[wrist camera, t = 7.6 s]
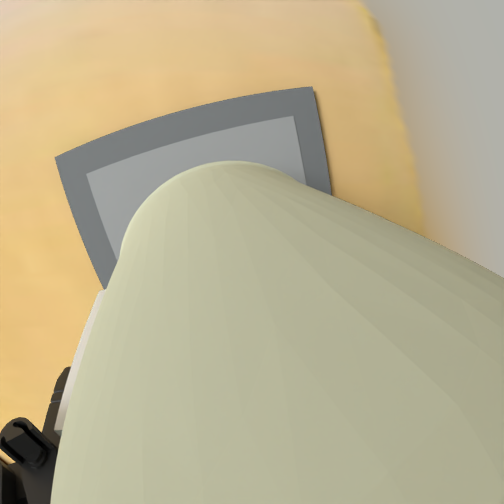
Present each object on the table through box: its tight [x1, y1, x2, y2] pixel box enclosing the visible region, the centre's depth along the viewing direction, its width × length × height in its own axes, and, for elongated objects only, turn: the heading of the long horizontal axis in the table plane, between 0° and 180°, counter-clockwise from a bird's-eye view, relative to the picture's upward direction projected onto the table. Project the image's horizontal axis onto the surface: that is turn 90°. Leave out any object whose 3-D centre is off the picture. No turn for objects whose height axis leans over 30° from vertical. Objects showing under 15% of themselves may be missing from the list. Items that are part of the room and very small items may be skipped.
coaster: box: [55, 87, 332, 290], centre depth 16 cm, size 14×14×1 cm
